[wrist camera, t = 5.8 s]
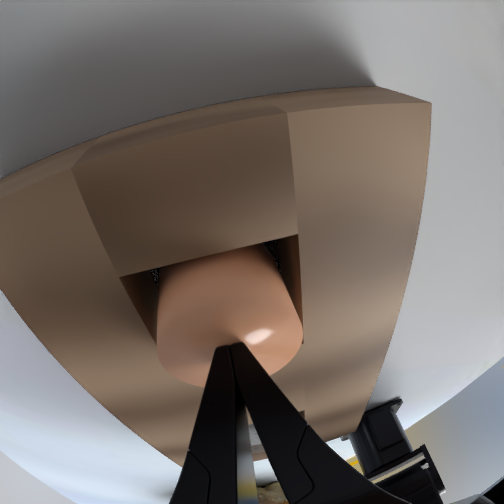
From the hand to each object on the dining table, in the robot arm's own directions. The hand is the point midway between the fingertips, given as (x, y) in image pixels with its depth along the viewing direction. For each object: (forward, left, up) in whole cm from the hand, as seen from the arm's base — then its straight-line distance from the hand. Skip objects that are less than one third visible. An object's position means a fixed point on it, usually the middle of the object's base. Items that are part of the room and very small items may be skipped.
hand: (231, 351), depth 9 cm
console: (-6, 0, -4) cm, 7 cm away
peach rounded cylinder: (0, 0, -3) cm, 3 cm away
